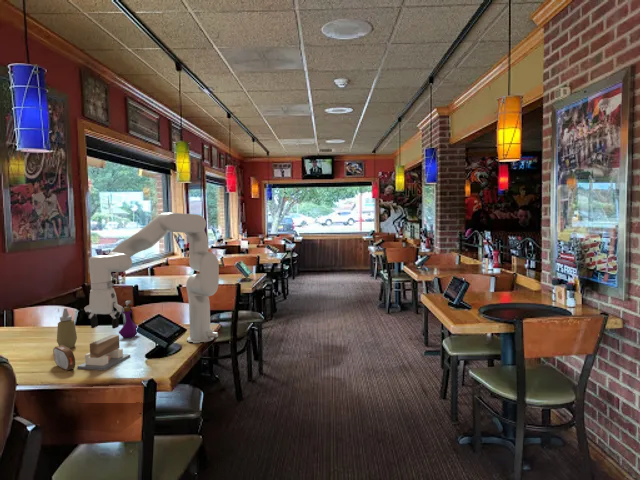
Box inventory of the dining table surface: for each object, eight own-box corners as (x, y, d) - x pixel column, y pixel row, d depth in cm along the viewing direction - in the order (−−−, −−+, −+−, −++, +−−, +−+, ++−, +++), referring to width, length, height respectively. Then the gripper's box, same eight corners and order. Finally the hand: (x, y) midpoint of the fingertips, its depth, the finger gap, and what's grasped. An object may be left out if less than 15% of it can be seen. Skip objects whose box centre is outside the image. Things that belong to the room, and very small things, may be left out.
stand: (130, 356, 185) (129, 345, 184) (104, 370, 169) (103, 357, 169) (105, 355, 187) (104, 344, 187) (77, 368, 171) (76, 356, 171)
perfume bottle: (133, 338, 212) (132, 302, 211) (118, 339, 212) (116, 302, 211) (140, 334, 220) (138, 299, 219) (125, 334, 220) (124, 299, 219)
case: (119, 347, 184) (118, 335, 184) (98, 357, 171) (97, 344, 171) (112, 347, 185) (111, 334, 185) (90, 357, 172) (89, 343, 172)
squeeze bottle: (68, 350, 195) (66, 310, 194) (52, 349, 197) (50, 310, 196) (81, 345, 203) (79, 307, 202) (66, 344, 205) (64, 306, 204)
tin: (76, 370, 169) (75, 349, 168) (67, 373, 167) (66, 351, 166) (61, 363, 178) (60, 342, 178) (52, 365, 176) (51, 344, 176)
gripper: (126, 284, 178) (129, 325, 179) (89, 284, 182) (93, 324, 183) (114, 287, 171) (117, 330, 172) (76, 287, 174) (79, 329, 176)
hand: (105, 327), depth 178 cm, fingers open, 9 cm apart
